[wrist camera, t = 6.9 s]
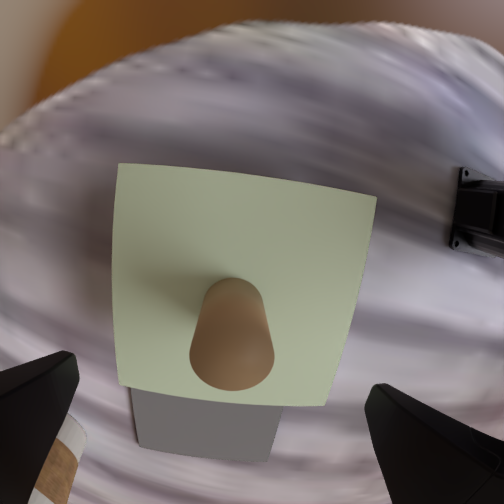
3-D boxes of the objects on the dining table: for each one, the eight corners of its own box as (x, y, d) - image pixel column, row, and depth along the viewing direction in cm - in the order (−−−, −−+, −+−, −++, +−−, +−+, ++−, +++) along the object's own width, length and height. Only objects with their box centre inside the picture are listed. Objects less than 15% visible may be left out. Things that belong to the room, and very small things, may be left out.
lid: (368, 196, 14) (433, 203, 8) (320, 395, 16) (345, 460, 11) (126, 164, 13) (67, 154, 7) (124, 375, 15) (92, 437, 10)
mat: (293, 361, 20) (294, 364, 20) (266, 458, 22) (267, 461, 22) (128, 341, 19) (126, 344, 19) (140, 444, 22) (139, 447, 21)
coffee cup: (113, 444, 22) (70, 562, 7) (73, 456, 22) (32, 548, 8) (51, 385, 20) (-27, 495, 5) (21, 406, 21) (-41, 491, 6)
